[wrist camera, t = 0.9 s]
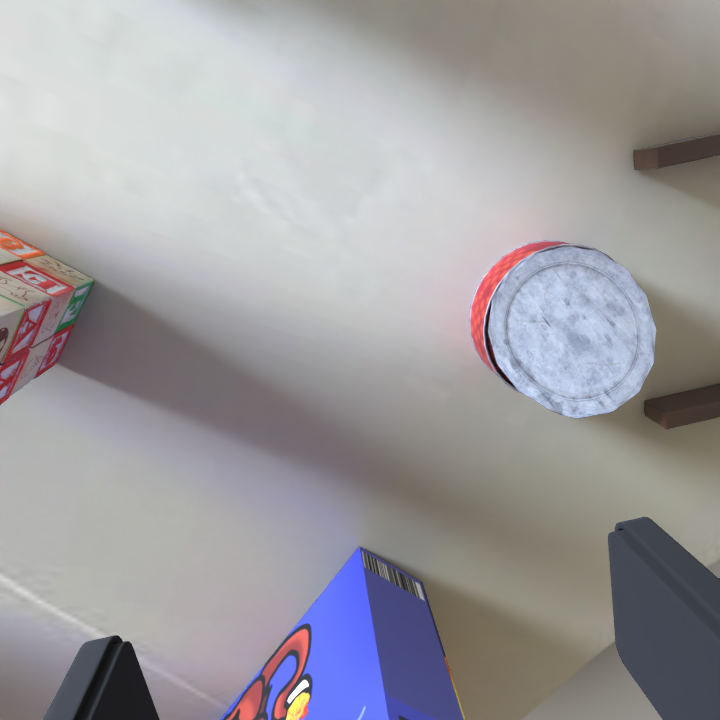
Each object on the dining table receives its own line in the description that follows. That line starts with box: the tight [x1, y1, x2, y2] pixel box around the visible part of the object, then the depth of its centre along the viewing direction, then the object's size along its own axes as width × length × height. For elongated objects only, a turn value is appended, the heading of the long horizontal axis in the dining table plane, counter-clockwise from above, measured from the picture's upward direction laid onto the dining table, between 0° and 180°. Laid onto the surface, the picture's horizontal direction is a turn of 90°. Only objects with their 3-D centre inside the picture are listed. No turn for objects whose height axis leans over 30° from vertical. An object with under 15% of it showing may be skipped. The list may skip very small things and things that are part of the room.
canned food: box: [469, 241, 656, 419], centre depth 34 cm, size 11×10×10 cm
